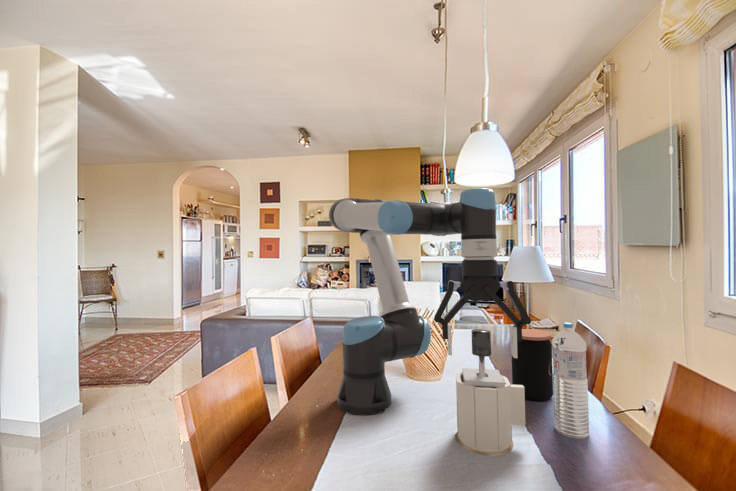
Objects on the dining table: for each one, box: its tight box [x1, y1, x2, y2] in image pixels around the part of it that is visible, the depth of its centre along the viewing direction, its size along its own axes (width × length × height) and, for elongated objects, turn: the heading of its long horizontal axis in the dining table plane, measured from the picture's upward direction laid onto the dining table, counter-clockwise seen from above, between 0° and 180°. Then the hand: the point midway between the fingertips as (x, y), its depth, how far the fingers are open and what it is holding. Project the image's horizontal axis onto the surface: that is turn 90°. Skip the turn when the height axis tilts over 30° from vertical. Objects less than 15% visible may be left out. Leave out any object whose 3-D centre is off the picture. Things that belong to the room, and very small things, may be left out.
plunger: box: [471, 328, 492, 387], centre depth 75 cm, size 8×8×22 cm
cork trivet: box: [455, 430, 514, 456], centre depth 75 cm, size 12×12×1 cm
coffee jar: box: [511, 328, 554, 403], centre depth 99 cm, size 11×11×18 cm
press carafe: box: [455, 367, 526, 454], centre depth 75 cm, size 14×11×14 cm
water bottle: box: [551, 322, 590, 440], centre depth 78 cm, size 7×7×25 cm
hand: (481, 355), depth 76 cm, fingers open, 13 cm apart
